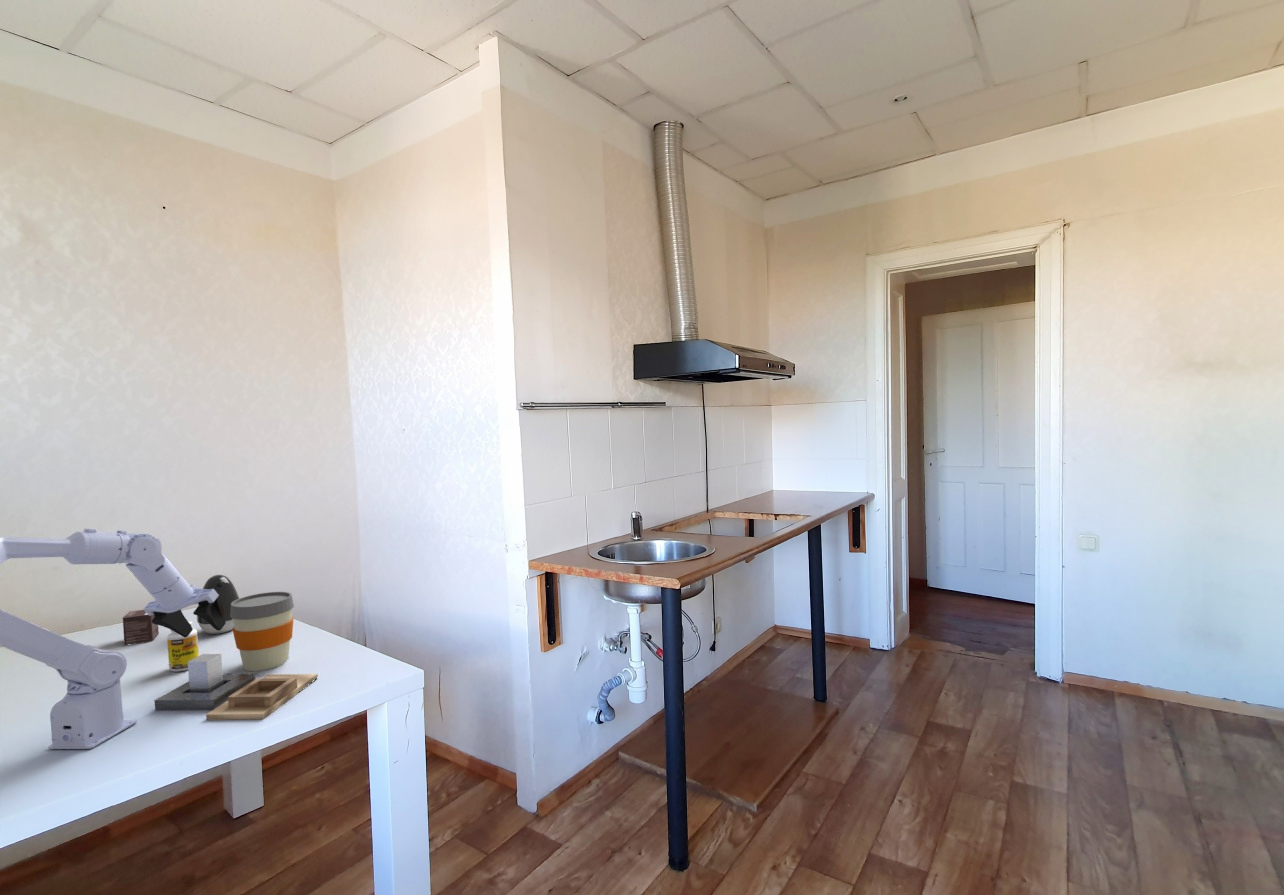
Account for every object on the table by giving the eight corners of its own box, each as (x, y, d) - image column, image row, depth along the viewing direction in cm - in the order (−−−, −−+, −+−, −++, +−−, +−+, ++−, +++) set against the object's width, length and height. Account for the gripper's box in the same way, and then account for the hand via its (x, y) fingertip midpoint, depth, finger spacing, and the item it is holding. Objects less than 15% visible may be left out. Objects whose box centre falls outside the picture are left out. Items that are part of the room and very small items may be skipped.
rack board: (263, 719, 117) (262, 703, 117) (206, 719, 118) (205, 703, 118) (317, 678, 135) (317, 664, 135) (268, 679, 136) (267, 665, 136)
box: (131, 638, 166) (129, 611, 165) (159, 634, 168) (157, 607, 168) (123, 645, 160) (121, 617, 160) (153, 641, 163) (150, 613, 162)
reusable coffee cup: (308, 658, 147) (304, 594, 146) (252, 678, 136) (248, 610, 136) (278, 649, 154) (274, 588, 153) (222, 668, 143) (218, 603, 142)
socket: (214, 709, 122) (213, 699, 122) (155, 710, 122) (154, 700, 122) (255, 683, 134) (254, 673, 134) (201, 683, 134) (200, 674, 134)
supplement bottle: (168, 674, 140) (165, 629, 140) (170, 666, 145) (167, 623, 144) (199, 668, 143) (195, 624, 143) (200, 661, 148) (196, 618, 147)
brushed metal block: (209, 700, 126) (206, 661, 126) (190, 700, 126) (187, 661, 126) (224, 691, 130) (221, 653, 130) (205, 692, 130) (202, 654, 130)
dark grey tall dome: (201, 640, 162) (197, 582, 161) (195, 631, 170) (191, 575, 169) (247, 630, 169) (243, 574, 168) (239, 621, 177) (235, 568, 176)
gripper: (209, 562, 127) (246, 609, 133) (145, 576, 128) (185, 622, 135) (188, 586, 120) (228, 635, 127) (121, 601, 122) (164, 647, 129)
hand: (205, 630), depth 131 cm, fingers open, 7 cm apart
